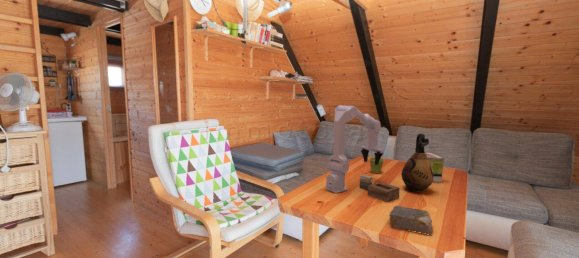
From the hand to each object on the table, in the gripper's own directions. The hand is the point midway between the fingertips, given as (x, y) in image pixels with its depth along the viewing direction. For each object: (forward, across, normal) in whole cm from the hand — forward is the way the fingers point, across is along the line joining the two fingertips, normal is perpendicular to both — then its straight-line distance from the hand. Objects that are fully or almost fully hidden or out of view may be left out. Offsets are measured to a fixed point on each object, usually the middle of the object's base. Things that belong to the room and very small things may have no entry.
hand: (371, 163), depth 160 cm
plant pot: (+10, +8, -17) cm, 21 cm away
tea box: (+10, -18, -32) cm, 38 cm away
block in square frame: (+10, -20, +17) cm, 28 cm away
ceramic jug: (+10, -24, -7) cm, 27 cm away
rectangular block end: (+10, -8, +15) cm, 20 cm away
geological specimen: (+11, -44, +35) cm, 57 cm away
